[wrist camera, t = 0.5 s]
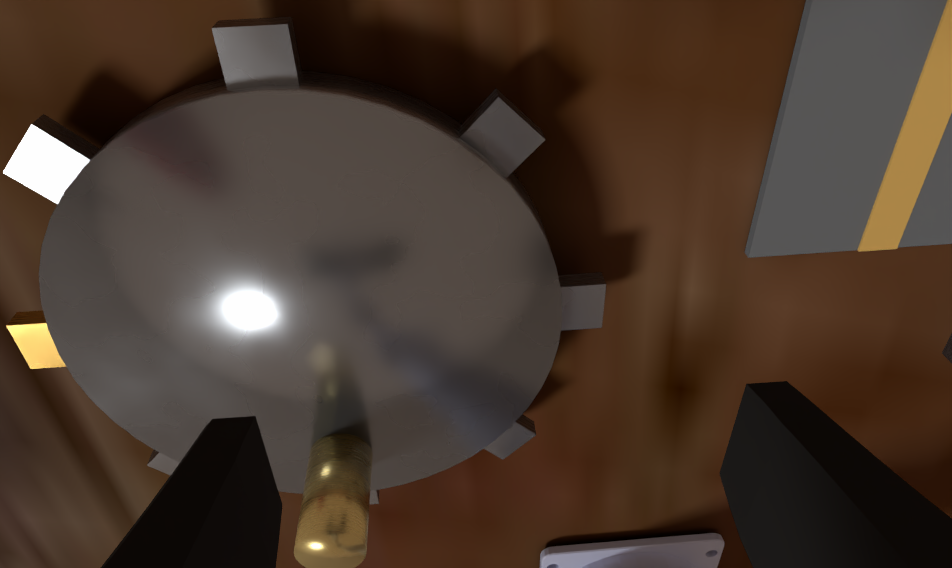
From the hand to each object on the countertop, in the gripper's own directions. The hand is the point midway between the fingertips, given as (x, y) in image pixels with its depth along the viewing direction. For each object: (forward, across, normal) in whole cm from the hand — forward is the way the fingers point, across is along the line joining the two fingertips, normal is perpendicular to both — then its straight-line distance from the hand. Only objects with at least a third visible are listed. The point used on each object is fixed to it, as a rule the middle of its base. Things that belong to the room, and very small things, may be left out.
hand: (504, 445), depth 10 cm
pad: (+10, -12, -1) cm, 16 cm away
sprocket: (+10, +4, +4) cm, 12 cm away
